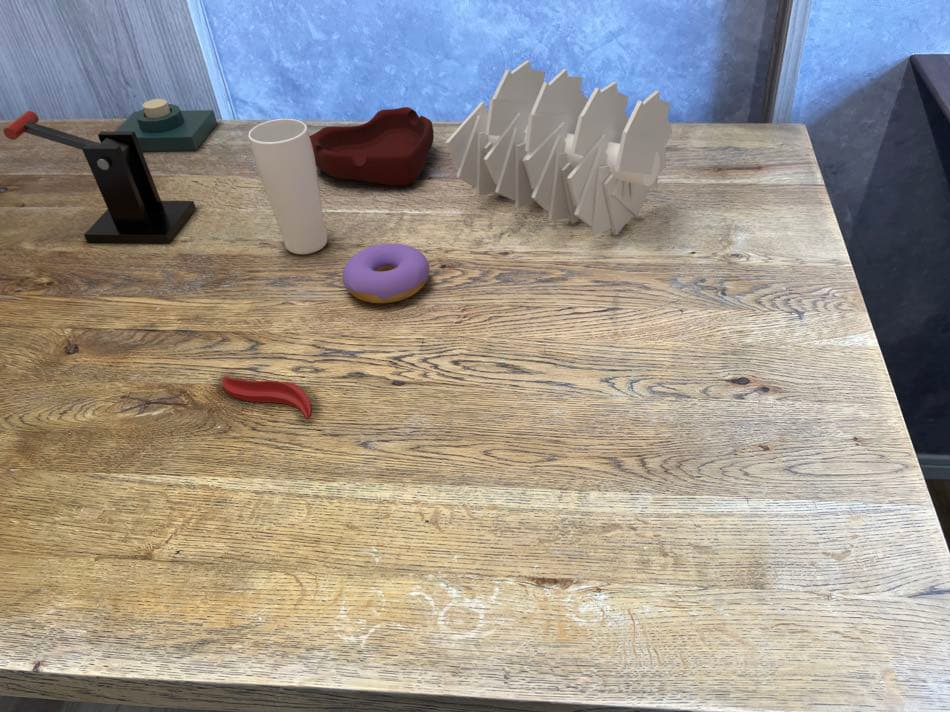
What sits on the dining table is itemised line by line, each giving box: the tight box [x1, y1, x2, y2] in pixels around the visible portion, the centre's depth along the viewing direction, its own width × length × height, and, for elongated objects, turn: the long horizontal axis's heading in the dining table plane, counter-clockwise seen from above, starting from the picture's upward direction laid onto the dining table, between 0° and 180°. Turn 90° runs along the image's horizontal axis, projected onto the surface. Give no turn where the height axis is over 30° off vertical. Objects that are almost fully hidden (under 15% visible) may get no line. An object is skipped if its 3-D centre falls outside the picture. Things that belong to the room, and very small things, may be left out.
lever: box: [3, 110, 130, 164], centre depth 100 cm, size 13×5×2 cm, turn 86°
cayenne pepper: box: [221, 375, 312, 420], centre depth 81 cm, size 12×5×2 cm, turn 52°
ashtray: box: [310, 106, 435, 188], centre depth 116 cm, size 18×16×5 cm
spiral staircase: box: [444, 60, 674, 237], centre depth 101 cm, size 18×18×25 cm
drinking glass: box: [247, 118, 329, 255], centre depth 98 cm, size 7×7×15 cm
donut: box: [342, 242, 430, 304], centre depth 94 cm, size 10×9×5 cm
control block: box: [115, 103, 218, 152], centre depth 127 cm, size 13×10×4 cm
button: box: [142, 98, 171, 118], centre depth 125 cm, size 4×4×2 cm
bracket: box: [81, 130, 197, 244], centre depth 104 cm, size 11×9×12 cm
